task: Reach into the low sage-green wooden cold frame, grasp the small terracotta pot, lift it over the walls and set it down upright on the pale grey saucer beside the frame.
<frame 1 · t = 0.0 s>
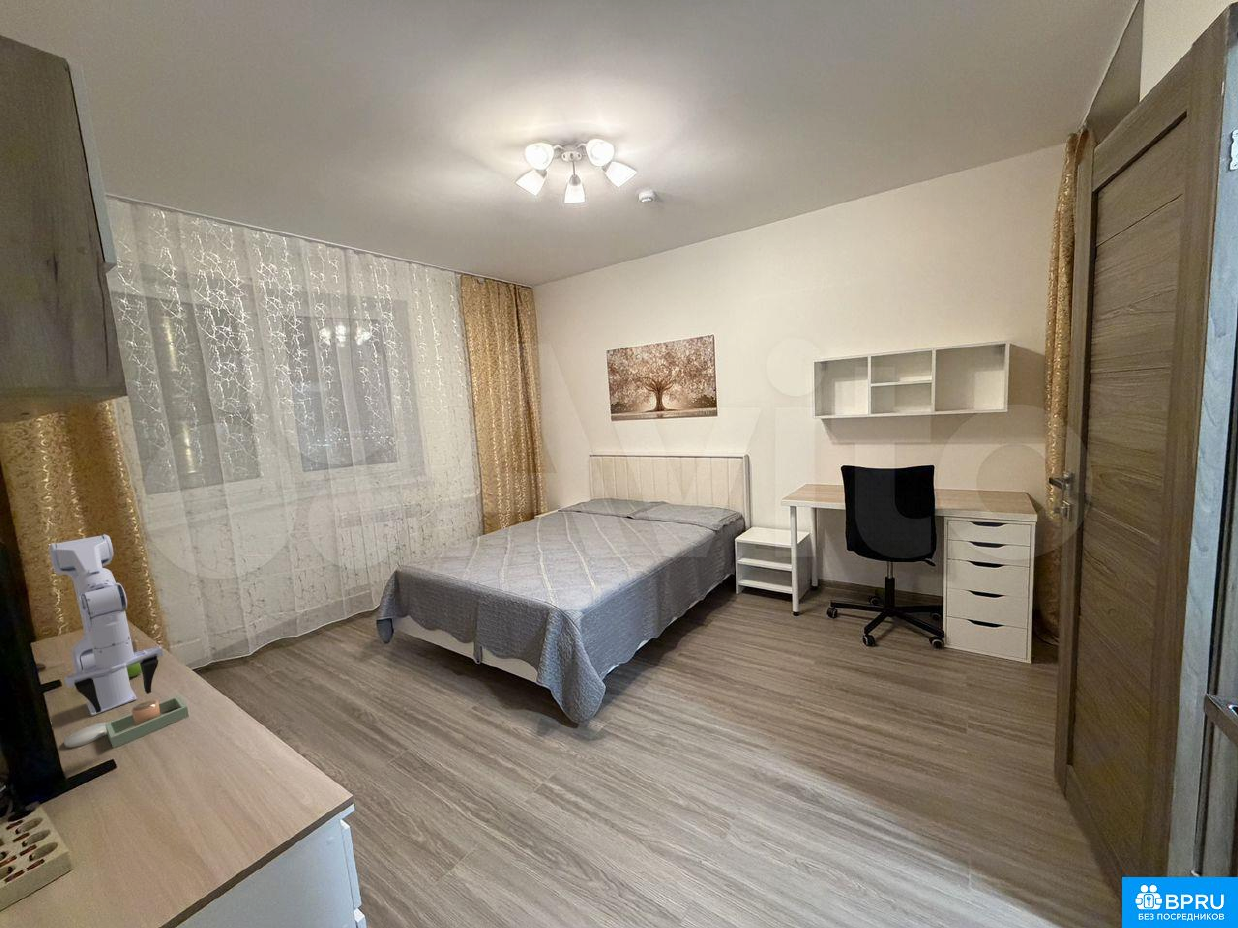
hand: (123, 700, 104), 10 cm above the dresser, tool pointing down, fingers open, 7 cm apart
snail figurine: (135, 676, 135), on the dresser
terracotta pot: (149, 725, 112), resting in cold frame
cold frame: (148, 724, 112), on the dresser
pale grey saucer: (88, 736, 109), on the dresser
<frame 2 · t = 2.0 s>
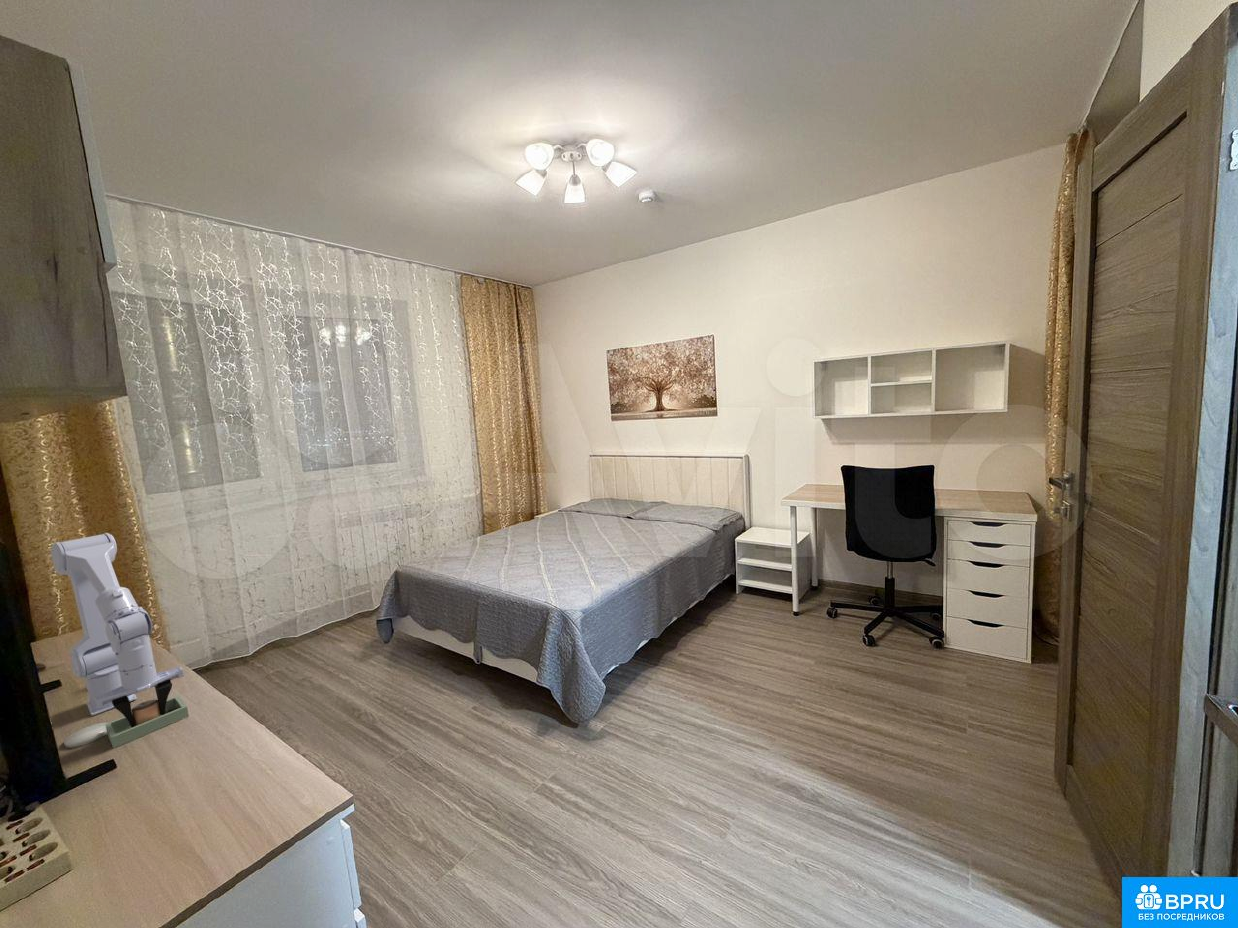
hand: (147, 719, 111), 1 cm above the dresser, tool pointing down, fingers closed on terracotta pot, 4 cm apart
terracotta pot: (149, 724, 112), resting in cold frame, touching gripper
everything else where it was.
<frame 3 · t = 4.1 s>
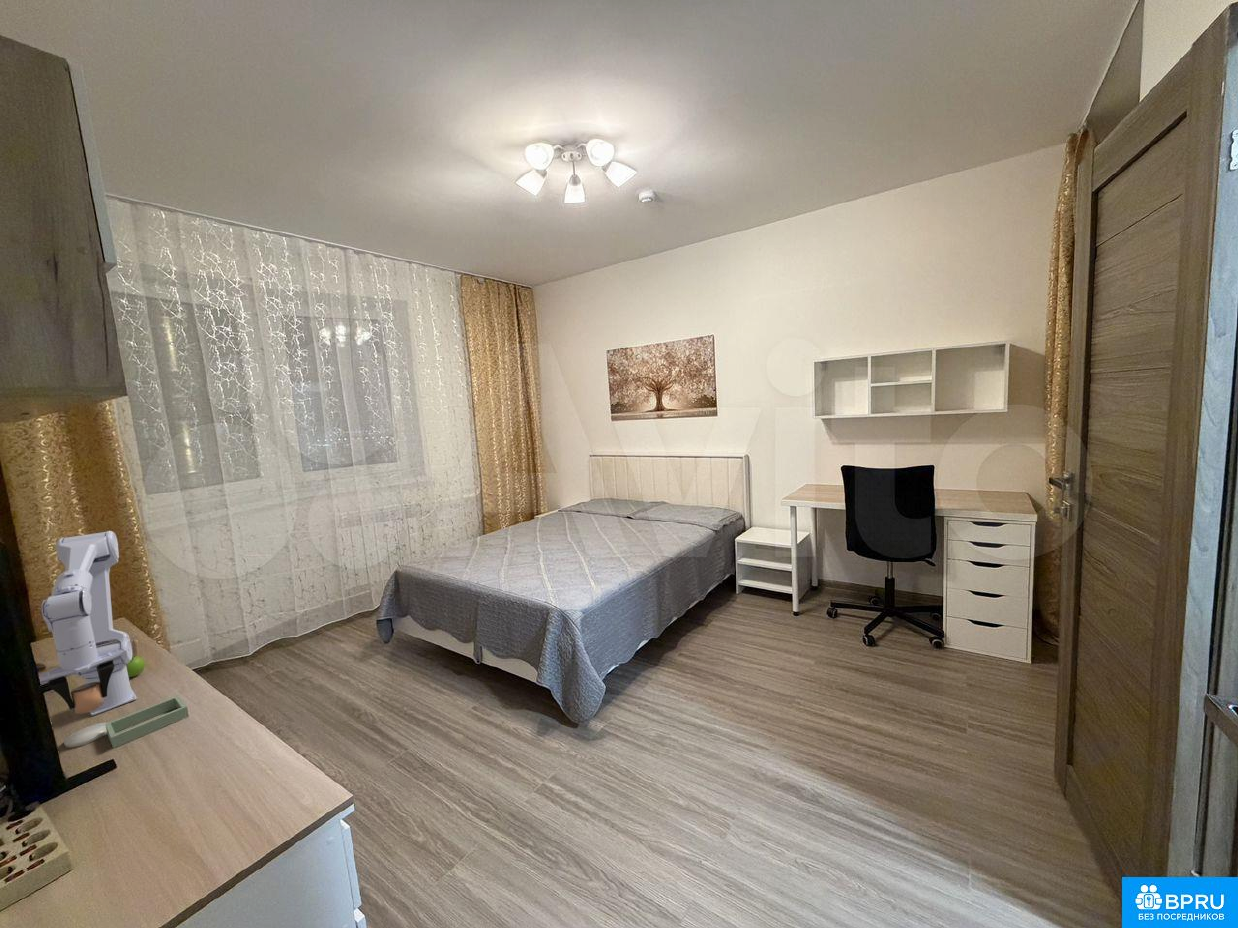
hand: (88, 701, 108), 8 cm above the dresser, tool pointing down, fingers closed on terracotta pot, 4 cm apart
terracotta pot: (90, 707, 108), point 7 cm above the dresser, touching gripper
everything else where it was.
when the fingers open (4 cm above the dresser, at t = 6.1 s): terracotta pot drops 1 cm, resting on pale grey saucer.
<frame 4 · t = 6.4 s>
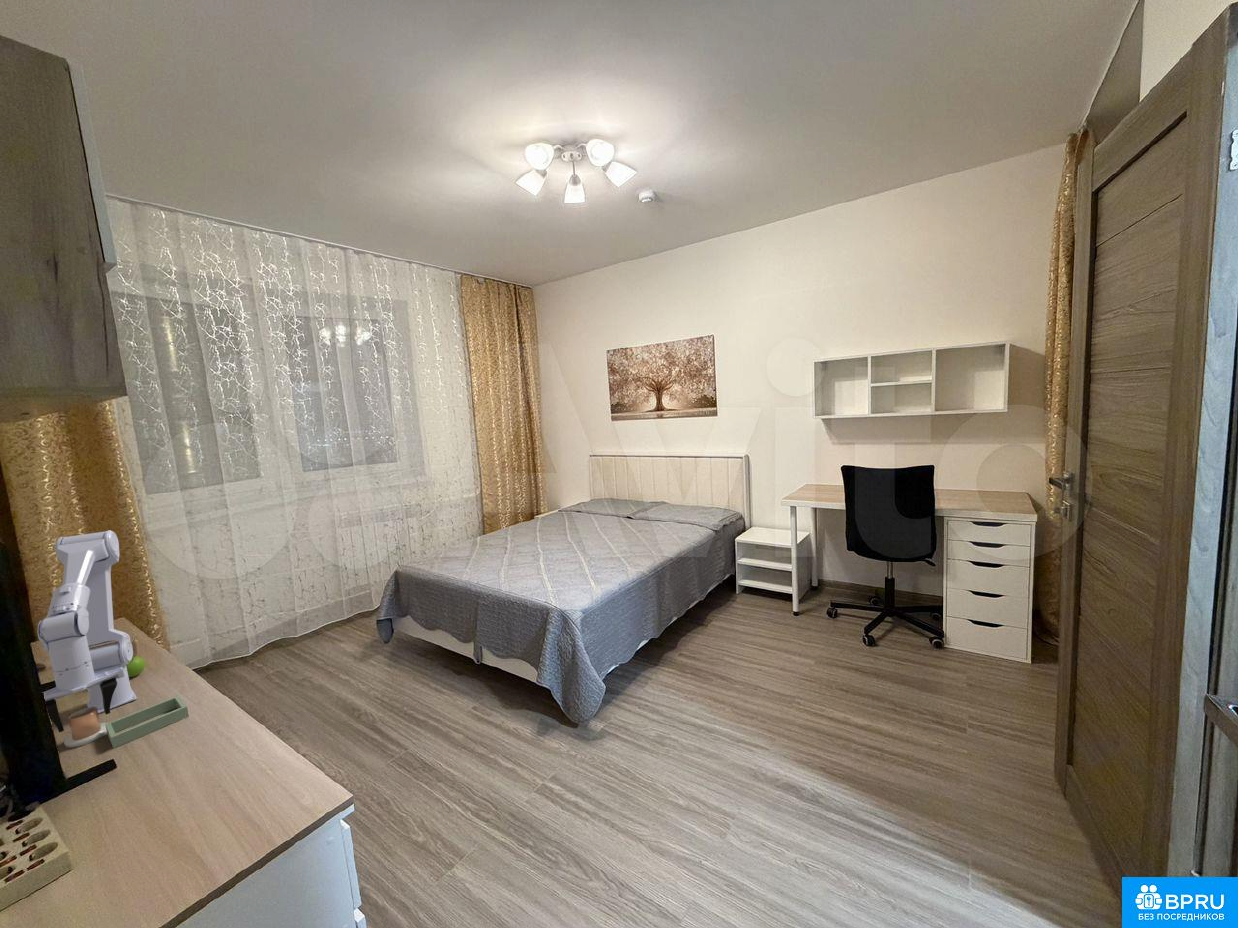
hand: (84, 720, 108), 4 cm above the dresser, tool pointing down, fingers open, 6 cm apart
terracotta pot: (87, 733, 108), point 1 cm above the dresser, touching pale grey saucer
everything else where it was.
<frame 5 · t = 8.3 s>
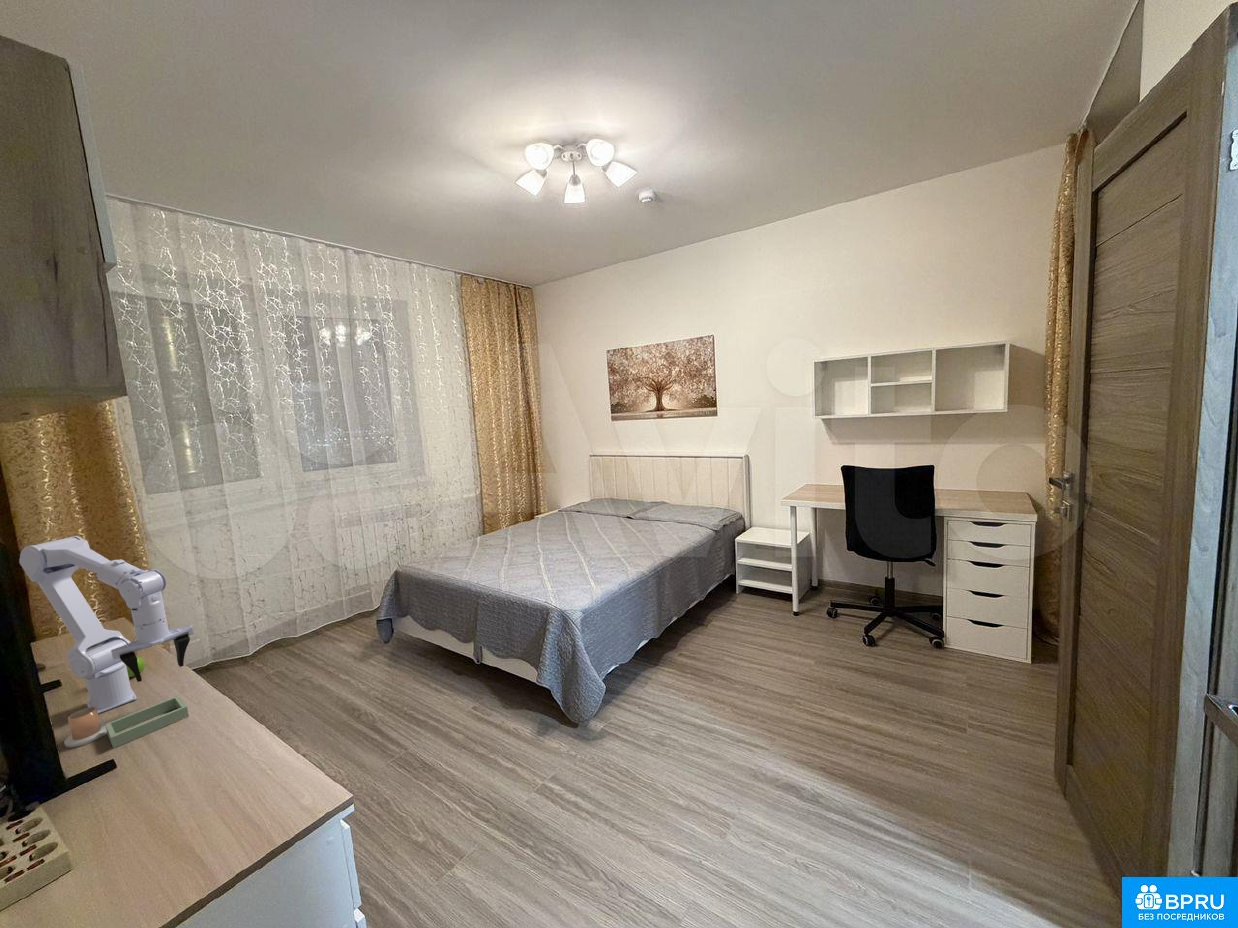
hand: (160, 672, 119), 8 cm above the dresser, tool pointing down, fingers open, 7 cm apart
nothing on the dresser moved.
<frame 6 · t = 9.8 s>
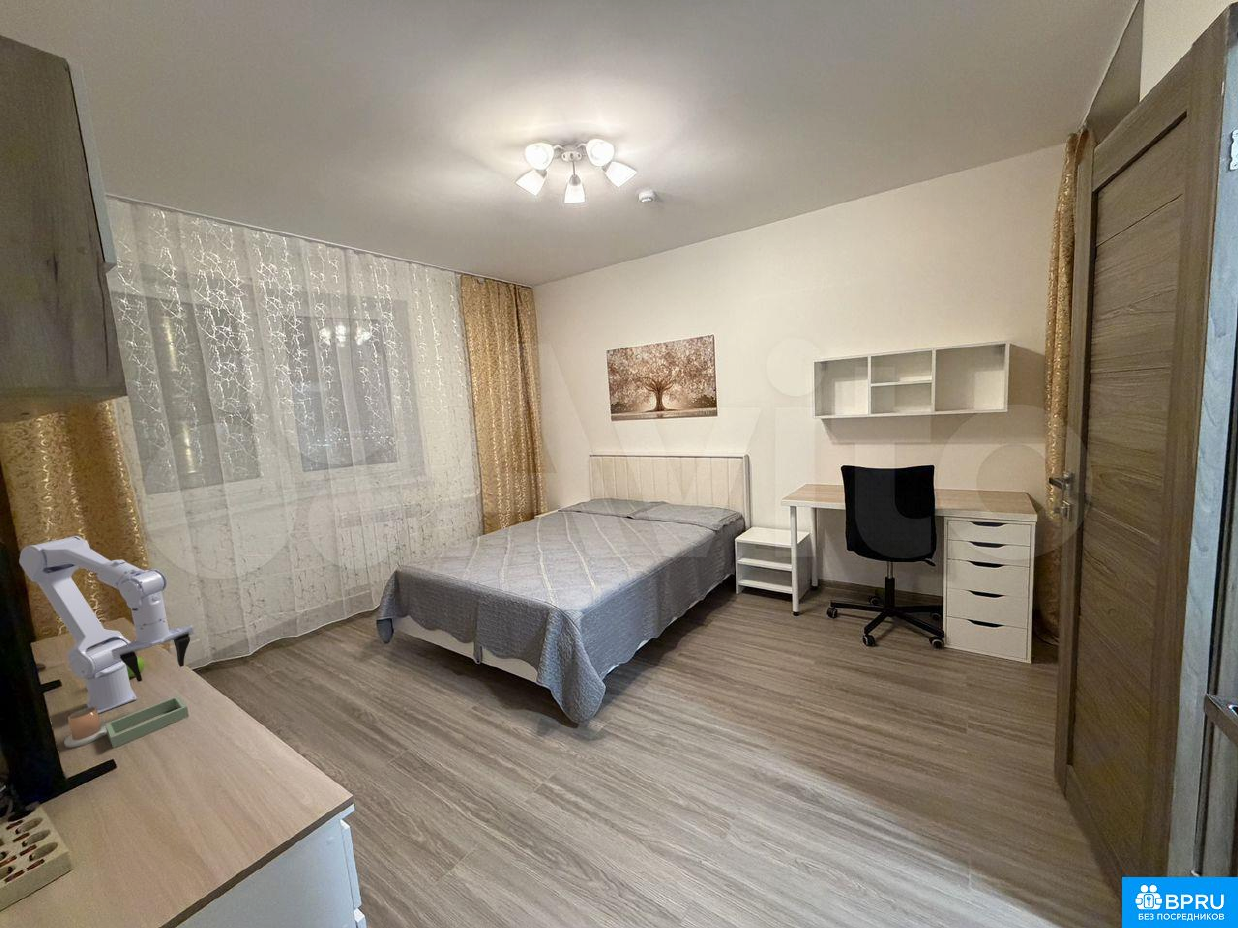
hand: (160, 672, 119), 8 cm above the dresser, tool pointing down, fingers open, 7 cm apart
nothing on the dresser moved.
at the end: terracotta pot 0.2 cm off-centre on the pale grey saucer, point 1.0 cm above the pale grey saucer's base; terracotta pot tilted 0°; terracotta pot touching pale grey saucer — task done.
